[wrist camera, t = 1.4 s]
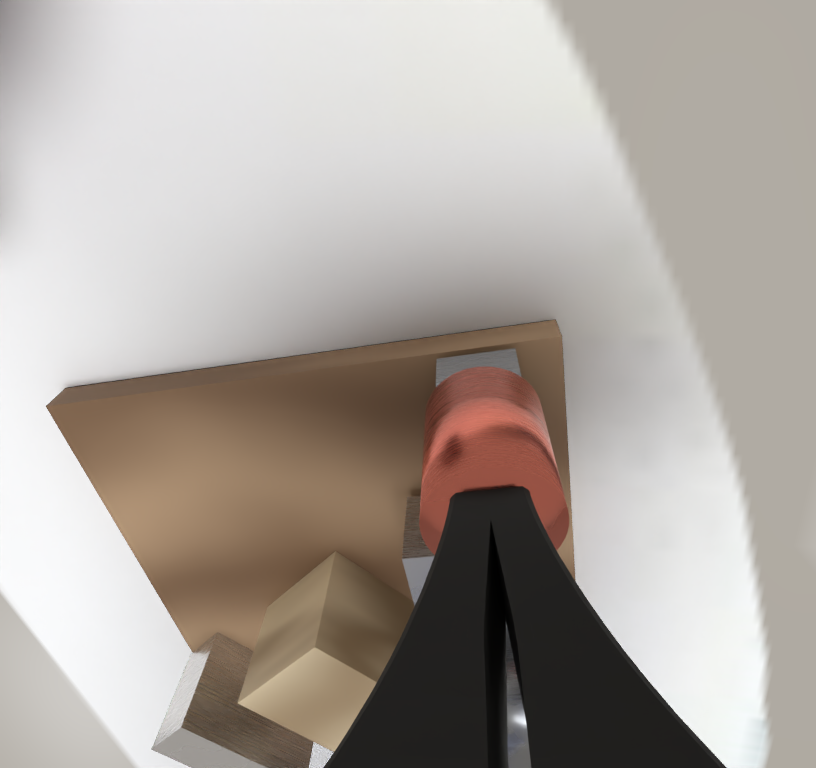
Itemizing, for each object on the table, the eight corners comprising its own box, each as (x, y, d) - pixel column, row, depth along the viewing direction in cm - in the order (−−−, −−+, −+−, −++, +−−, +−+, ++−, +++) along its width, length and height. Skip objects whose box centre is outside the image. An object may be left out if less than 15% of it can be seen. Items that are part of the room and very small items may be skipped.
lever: (576, 677, 21) (608, 837, 17) (452, 683, 22) (454, 840, 18) (555, 328, 14) (602, 454, 10) (372, 353, 15) (342, 482, 11)
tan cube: (424, 608, 20) (421, 707, 17) (354, 656, 22) (339, 754, 19) (335, 551, 19) (314, 647, 16) (267, 607, 21) (237, 703, 18)
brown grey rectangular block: (323, 688, 23) (305, 785, 20) (294, 708, 24) (272, 803, 21) (217, 631, 22) (181, 727, 19) (190, 654, 23) (151, 749, 20)
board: (577, 690, 24) (582, 714, 23) (245, 706, 26) (238, 729, 25) (555, 319, 15) (561, 336, 15) (65, 388, 18) (45, 406, 17)
